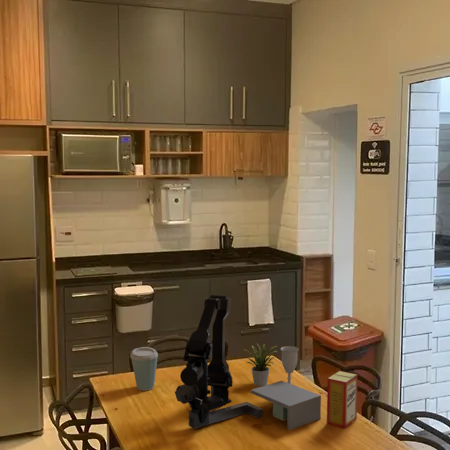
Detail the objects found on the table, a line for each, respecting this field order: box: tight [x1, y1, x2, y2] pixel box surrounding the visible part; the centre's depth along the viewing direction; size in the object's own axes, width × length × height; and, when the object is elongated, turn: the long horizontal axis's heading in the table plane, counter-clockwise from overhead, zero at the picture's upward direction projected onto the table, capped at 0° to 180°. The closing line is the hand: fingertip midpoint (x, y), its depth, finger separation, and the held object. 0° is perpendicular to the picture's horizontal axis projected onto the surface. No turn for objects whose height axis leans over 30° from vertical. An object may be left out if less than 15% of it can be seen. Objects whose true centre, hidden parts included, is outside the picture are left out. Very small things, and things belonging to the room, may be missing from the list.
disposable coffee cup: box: [130, 346, 159, 392], centre depth 240 cm, size 11×11×15 cm
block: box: [272, 402, 288, 421], centre depth 213 cm, size 5×5×5 cm
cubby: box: [250, 380, 322, 431], centre depth 213 cm, size 19×15×8 cm
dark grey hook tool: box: [188, 401, 264, 430], centre depth 208 cm, size 9×25×5 cm, turn 129°
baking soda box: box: [326, 370, 359, 429], centre depth 208 cm, size 10×6×16 cm
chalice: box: [280, 345, 299, 384], centre depth 232 cm, size 7×7×18 cm
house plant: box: [243, 343, 278, 387], centre depth 244 cm, size 14×14×16 cm
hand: (199, 421), depth 204 cm, fingers closed on dark grey hook tool, 3 cm apart
